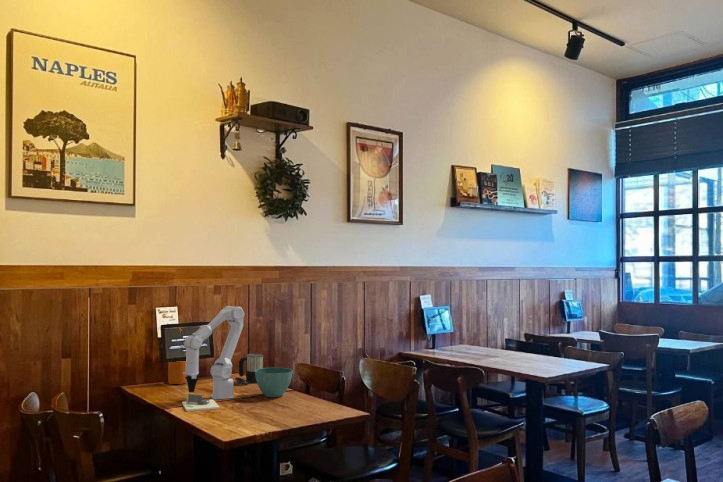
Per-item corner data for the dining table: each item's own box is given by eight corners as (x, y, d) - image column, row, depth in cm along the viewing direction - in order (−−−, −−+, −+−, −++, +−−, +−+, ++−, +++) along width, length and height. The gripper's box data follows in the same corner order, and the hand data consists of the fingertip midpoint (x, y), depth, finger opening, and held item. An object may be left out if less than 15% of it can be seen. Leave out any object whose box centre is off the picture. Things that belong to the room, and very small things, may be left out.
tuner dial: (210, 401, 272) (211, 394, 272) (206, 404, 267) (207, 396, 267) (188, 401, 273) (188, 393, 273) (183, 403, 268) (183, 395, 269)
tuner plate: (213, 401, 279) (213, 399, 279) (219, 408, 264) (219, 406, 264) (181, 403, 274) (181, 401, 274) (186, 411, 258) (186, 409, 258)
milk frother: (264, 380, 334) (264, 353, 335) (261, 385, 318) (261, 357, 319) (238, 380, 333) (238, 353, 334) (233, 385, 317) (234, 357, 318)
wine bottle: (190, 383, 324) (192, 327, 325) (176, 386, 315) (178, 328, 317) (178, 381, 329) (179, 326, 330) (163, 384, 320) (165, 327, 322)
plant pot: (281, 390, 305) (282, 366, 306) (298, 396, 290) (299, 371, 291) (248, 394, 295) (249, 369, 296) (264, 401, 280) (265, 374, 281)
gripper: (181, 360, 281) (180, 389, 281) (185, 364, 268) (184, 395, 267) (196, 359, 284) (196, 388, 283) (201, 364, 271) (200, 394, 270)
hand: (191, 392), depth 276 cm, fingers closed
